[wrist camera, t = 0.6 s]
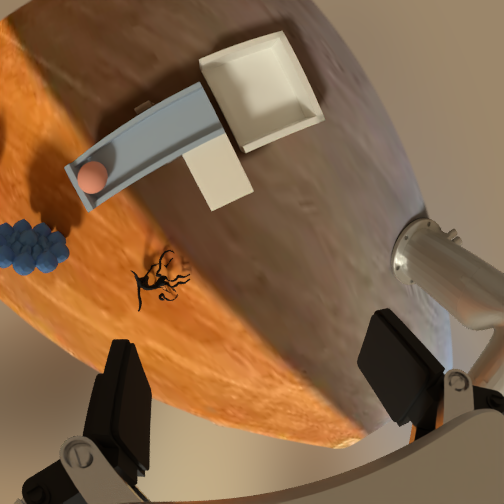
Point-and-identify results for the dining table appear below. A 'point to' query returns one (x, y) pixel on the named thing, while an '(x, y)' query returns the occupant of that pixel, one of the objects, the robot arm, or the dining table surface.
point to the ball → (92, 177)
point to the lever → (168, 150)
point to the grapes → (31, 247)
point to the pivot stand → (143, 108)
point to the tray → (261, 90)
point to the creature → (160, 282)
